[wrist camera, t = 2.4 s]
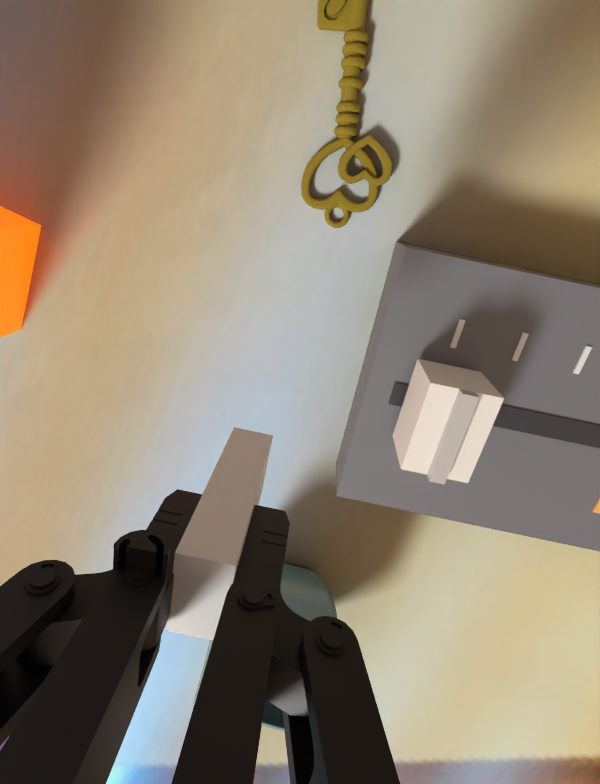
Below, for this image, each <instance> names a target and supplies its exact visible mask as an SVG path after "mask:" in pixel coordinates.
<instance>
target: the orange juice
mask: <svg viewBox="0 0 600 784" xmlns="http://www.w3.org/2000/svg"><path fill="white" fill-rule="evenodd" d="M40 230H41V225H39V224H37V223H35V222H33V221H31V220H29V219H26V218H24V217H22V216H20V215H18V214H16V213H14V212H12V211H10V210H8V209H5V208H3V207H1V206H0V337H2V336H5V335H8V334H10V333H13V332H16V331H18V330H21V327H22V322H23V317H24V311H25V306H26V301H27V296H28V291H29V286H30V281H31V276H32V270H33V265H34V260H35V255H36V250H37V245H38V240H39V235H40Z"/></svg>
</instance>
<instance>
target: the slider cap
mask: <svg viewBox="0 0 600 784" xmlns="http://www.w3.org/2000/svg"><path fill="white" fill-rule="evenodd" d="M503 400H504V397H503V396H502V395H501V394H500V393H499V392H498V391H497V389H496V388H495V387H494V386H493V385H492V384H491V383H490V382H489V380H488V379H487V378H486V377H485V376H484V375H483V374H482V372H479V371H474V370H470V369H465V368H460V367H455V366H451V365H446V364H441V363H436V362H432V361H427V360H422V359H417V362H416V365H415V368H414V371H413V374H412V377H411V380H410V383H409V387H408V390H407V393H406V396H405V399H404V402H403V405H402V408H401V411H400V414H399V417H398V420H397V424H396V427H395V430H394V433H393V440H394V444H395V448H396V452H397V456H398V460H399V464H400V468H401V469H402V470H407V471H412V472H417V473H421V474H426V475H427V476H428V479H429V481H430V482H435V483H439V484H445V482H446V479H450V480H455V481H460V482H464V483H468V482H469V480H470V477H471V475H472V473H473V470H474V468H475V466H476V463H477V461H478V459H479V456H480V454H481V452H482V449H483V447H484V445H485V442H486V440H487V438H488V435H489V433H490V431H491V428H492V426H493V424H494V421H495V419H496V417H497V414H498V412H499V410H500V407H501V405H502V403H503Z"/></svg>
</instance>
